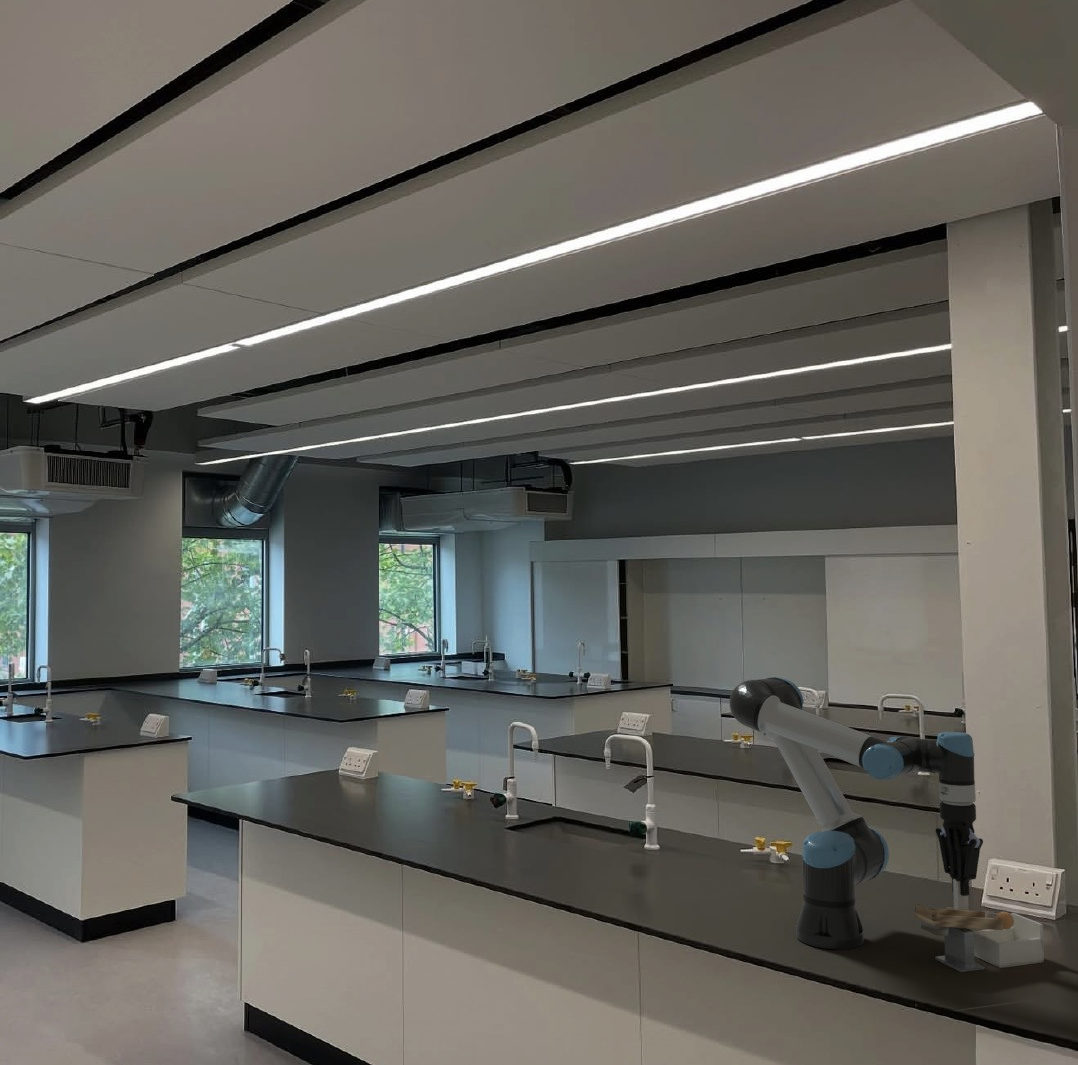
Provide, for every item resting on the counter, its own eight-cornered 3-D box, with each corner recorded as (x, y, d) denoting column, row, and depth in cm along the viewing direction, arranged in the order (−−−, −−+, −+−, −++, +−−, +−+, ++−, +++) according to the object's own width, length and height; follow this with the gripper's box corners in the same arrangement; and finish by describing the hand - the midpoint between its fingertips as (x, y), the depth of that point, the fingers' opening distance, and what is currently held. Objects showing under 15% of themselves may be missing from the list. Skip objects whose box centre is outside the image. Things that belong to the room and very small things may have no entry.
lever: (931, 935, 214) (934, 912, 215) (893, 917, 227) (895, 895, 227) (1001, 939, 219) (1003, 916, 220) (960, 921, 232) (962, 900, 232)
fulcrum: (961, 972, 215) (960, 934, 215) (935, 959, 222) (934, 922, 223) (984, 969, 216) (983, 931, 217) (958, 956, 224) (957, 920, 225)
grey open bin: (971, 954, 225) (970, 917, 226) (1014, 949, 229) (1013, 912, 229) (999, 967, 217) (998, 929, 218) (1044, 962, 221) (1042, 924, 221)
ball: (1008, 917, 226) (999, 929, 225) (998, 906, 225) (989, 918, 224) (1020, 922, 223) (1011, 934, 222) (1010, 910, 222) (1001, 923, 221)
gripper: (924, 798, 236) (927, 902, 234) (963, 808, 223) (967, 919, 222) (951, 795, 238) (955, 899, 236) (992, 806, 226) (996, 915, 224)
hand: (961, 908), depth 229 cm, fingers closed
